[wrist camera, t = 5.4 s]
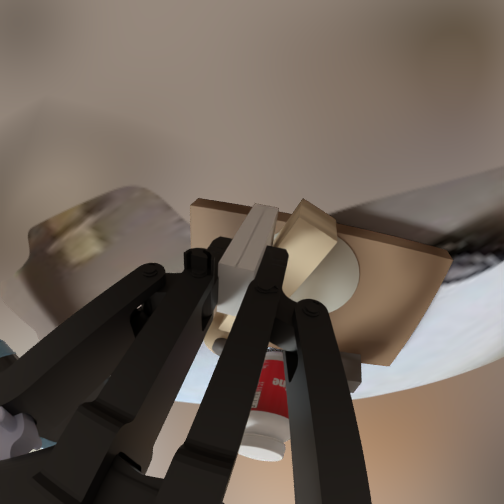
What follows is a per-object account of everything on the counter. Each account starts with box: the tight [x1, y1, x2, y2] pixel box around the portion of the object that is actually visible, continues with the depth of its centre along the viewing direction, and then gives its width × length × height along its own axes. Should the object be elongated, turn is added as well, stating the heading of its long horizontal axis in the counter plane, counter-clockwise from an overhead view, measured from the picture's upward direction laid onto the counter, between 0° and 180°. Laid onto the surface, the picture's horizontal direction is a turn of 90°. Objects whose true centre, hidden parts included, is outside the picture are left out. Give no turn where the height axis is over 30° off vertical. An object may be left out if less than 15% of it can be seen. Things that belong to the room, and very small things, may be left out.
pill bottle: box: [238, 351, 290, 461], centre depth 24 cm, size 6×6×11 cm
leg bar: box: [204, 199, 338, 356], centre depth 19 cm, size 14×4×4 cm, turn 152°
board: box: [190, 198, 453, 393], centre depth 21 cm, size 20×14×5 cm
